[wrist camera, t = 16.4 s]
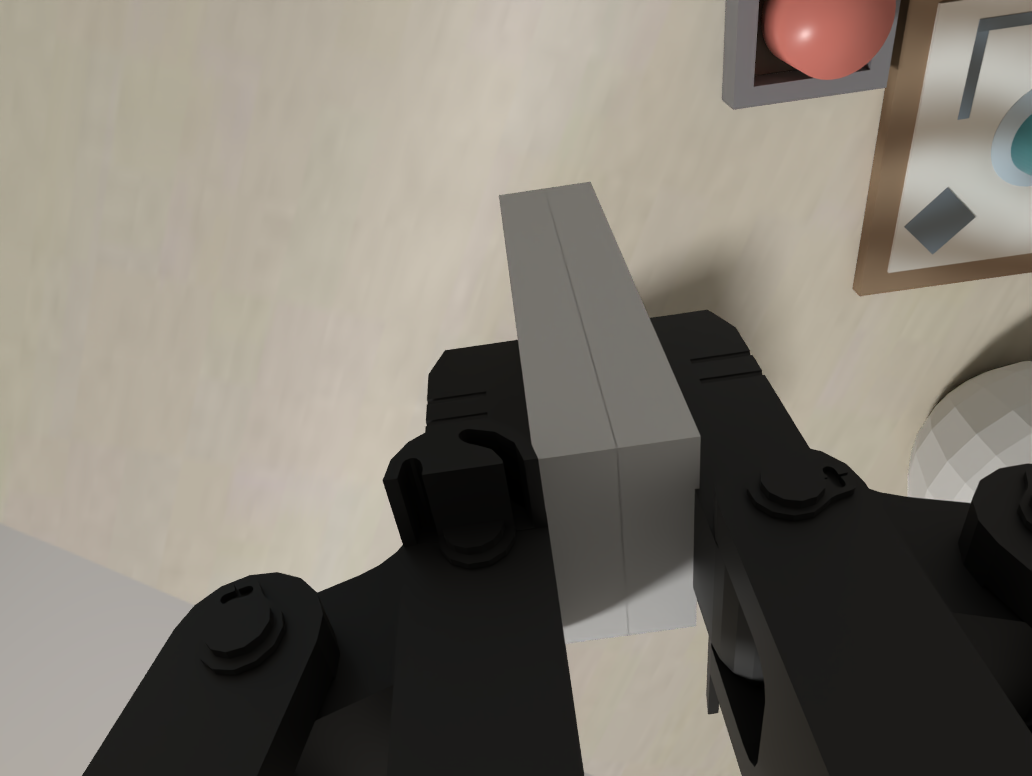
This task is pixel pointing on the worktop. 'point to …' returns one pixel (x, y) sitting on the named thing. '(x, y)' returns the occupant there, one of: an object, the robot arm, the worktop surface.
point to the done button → (826, 33)
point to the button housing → (788, 85)
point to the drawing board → (950, 149)
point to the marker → (1023, 147)
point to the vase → (973, 434)
